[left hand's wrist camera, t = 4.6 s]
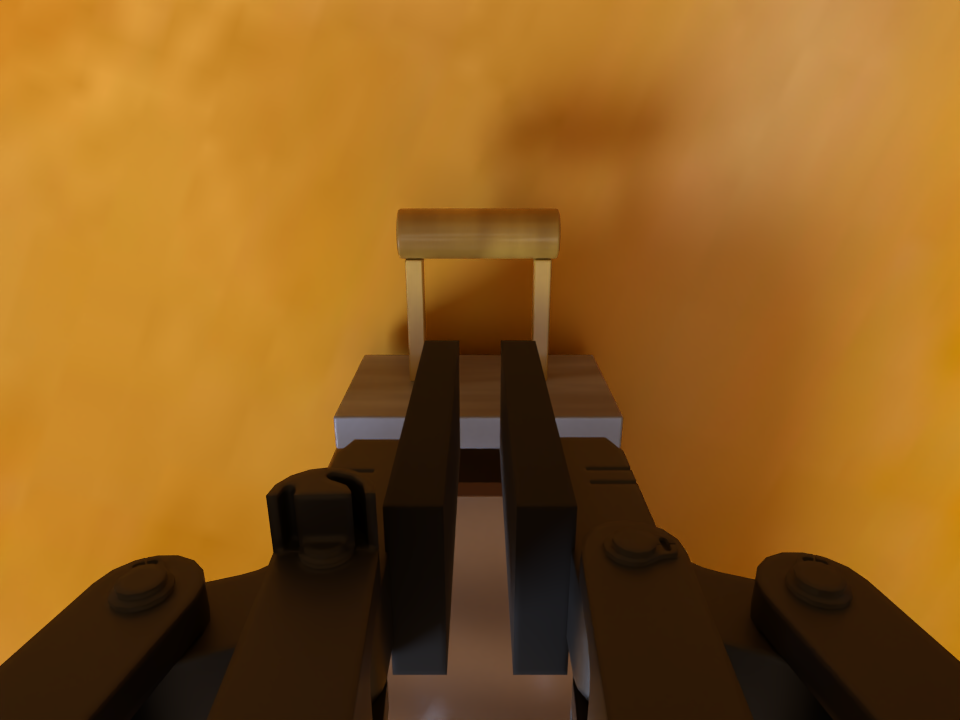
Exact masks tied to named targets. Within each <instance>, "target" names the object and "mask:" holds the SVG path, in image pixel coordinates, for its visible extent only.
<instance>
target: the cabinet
mask: <svg viewBox="0 0 960 720" xmlns="http://www.w3.org/2000/svg"><path fill="white" fill-rule="evenodd" d="M620 449H621V447H620ZM340 450H342V449H339V448H336V450H335V453H334V455H333V457H332V459H331V462H330V464H329V466H328V468H329V467H331V466H332V464H333V461H334V459H335V457H336V455H337V453H338V452H339V451H340ZM621 450H622V449H621ZM636 484H637V483H636ZM387 682H388V698H389V712H388V720H570V714H571V698H572V682H573V672H572V666H571V661H570V655H569V656H568V673H567V675H513V665H512V649H511V632H510V615H509V598H508V582H507V565H506V548H505V532H504V515H503V498H502V483H458V498H457V515H456V532H455V549H454V565H453V582H452V599H451V615H450V632H449V649H448V666H447V675H393V673H392V656H391V658H390V664H389V670H388V676H387Z"/></svg>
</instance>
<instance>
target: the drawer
mask: <svg viewBox="0 0 960 720" xmlns="http://www.w3.org/2000/svg"><path fill="white" fill-rule="evenodd" d="M560 232H561V227H560V214H559V211H558V209H399V211H398V214H397V224H396V235H397V249H398V254H399V257H400V258H402V259H406V261H405V267H406V292H407V317H408V342H409V355H365V356H364V358H363V360H362V362H361V364H360V366H359V368H358V370H357V372H356V374H355V376H354V378H353V380H352V382H351V384H350V386H349V388H348V390H347V392H346V394H345V396H344V398H343V400H342V402H341V404H340V406H339V408H338V410H337V412H336V414H335V416H334V427H335V438H336V447H337V448H339V449H343V448H344V447H346V446H347V445H348V444H349V443H351V442H352V441H353V440H354V439H400V436H401V432H402V428H403V424H404V420H405V416H406V412H407V408H408V404H409V400H410V396H411V392H412V388H413V385H414V381H415V377H416V373H417V369H418V365H419V361H420V357H421V353H422V349H423V345H424V341H426V320H425V287H424V259H533V293H532V328H531V341H536V345H537V349H538V353H539V357H540V361H541V365H542V369H543V373H544V377H545V381H546V384H547V388H548V392H549V396H550V400H551V404H552V408H553V412H554V416H555V420H556V424H557V428H558V432H559V436H560V437H606V438H607V439H608V440H610V441H611V442H612V443H614V444H615V445H616V446H617V447H619V448H620V447H621V437H622V425H623V416H622V414H621V412H620V410H619V408H618V406H617V404H616V402H615V400H614V398H613V396H612V394H611V392H610V390H609V388H608V386H607V383H606V381H605V379H604V377H603V375H602V373H601V371H600V369H599V367H598V365H597V363H596V361H595V359H594V357H593V355H548V347H549V320H550V294H551V268H552V261H551V259H555V258H557V257H558V254H559V248H560ZM459 380H460V465H459V482H458V483H502V482H501V465H500V381H501V355H459Z"/></svg>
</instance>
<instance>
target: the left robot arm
mask: <svg viewBox="0 0 960 720" xmlns="http://www.w3.org/2000/svg"><path fill="white" fill-rule="evenodd" d="M459 465H460V380H459V341H424V345H423V349H422V353H421V357H420V361H419V365H418V369H417V373H416V377H415V381H414V385H413V388H412V392H411V396H410V400H409V404H408V408H407V412H406V416H405V420H404V424H403V428H402V432H401V436H400V439H354V440H353V441H352V442H351V443H349V444H348V445H347V446H346V447H344V448H343V449H342V450H340V451H339V452H338V453H337V455H336V457H335V459H334V461H333V464H332V466H331V467H329V468H320V469H312V470H307V471H304V472H301V473H298V474H295V475H292V476H289V477H288V478H286V479H284V480H283V481H281V482H279V483H278V484H276V485H275V486H274V487H273V488H272V489H271V491H270V492H269V493H268V494H267V495H266V499H267V507H268V514H269V522H270V530H271V537H272V545H273V552H274V553H273V555H272V558H271V560H270V563H269V565H268V566H266V567H264V568H261V569H259V570H256V571H253V572H249V573H246V574H242V575H238V576H233V577H229V578H224V579H219V580H215V581H210V582H205V578H204V572H203V569H202V568H201V567H200V566H199V565H198V564H197V563H196V562H195V561H194V560H191V559H188V558H185V557H182V556H179V555H168V556H153V557H148V558H143V559H139V560H135V561H133V562H130V563H128V564H126V565H123V566H121V567H119V568H116V569H114V570H112V571H111V572H109V573H108V574H106V575H105V576H103V577H102V578H100V579H99V580H97V581H96V582H95V583H93V584H92V585H91V586H90V587H89V588H88V589H86V590H85V591H84V592H83V593H82V594H81V595H80V596H79V597H77V598H76V599H75V600H74V601H73V602H72V603H71V604H70V605H68V606H67V607H66V608H65V609H64V610H63V611H62V612H61V613H59V614H58V615H57V616H56V617H55V618H54V619H53V620H51V621H50V622H49V623H48V624H47V625H46V626H45V627H44V628H42V629H41V630H40V631H39V632H38V633H37V634H36V635H35V636H33V637H32V638H31V639H30V640H29V641H28V642H27V643H26V644H24V645H23V646H22V647H21V648H20V649H19V650H18V651H17V652H15V653H14V654H13V655H12V656H11V657H10V658H9V659H8V660H6V661H5V662H4V663H3V664H2V665H1V666H0V720H388V712H389V698H388V682H387V676H388V670H389V664H390V658H391V656H392V673H393V675H447V666H448V649H449V632H450V615H451V599H452V582H453V565H454V549H455V532H456V515H457V498H458V482H459ZM500 465H501V482H502V498H503V515H504V532H505V548H506V565H507V582H508V598H509V615H510V632H511V649H512V665H513V675H567V673H568V656H569V655H570V661H571V666H572V672H573V682H572V698H571V714H570V720H960V661H959V660H957V659H956V658H955V657H954V656H953V655H952V654H951V653H949V652H948V651H947V650H946V649H945V648H944V647H943V646H942V645H940V644H939V643H938V642H937V641H936V640H935V639H934V638H932V637H931V636H930V635H929V634H928V633H927V632H926V631H924V630H923V629H922V628H921V627H920V626H919V625H918V624H917V623H915V622H914V621H913V620H912V619H911V618H910V617H909V616H907V615H906V614H905V613H904V612H903V611H902V610H901V609H899V608H898V607H897V606H896V605H895V604H894V603H893V602H892V601H890V600H889V599H888V598H887V597H886V596H885V595H884V594H882V593H881V592H880V591H879V590H878V589H877V588H876V587H874V586H873V585H872V584H871V583H870V582H869V581H868V580H866V579H865V578H863V577H862V576H860V575H859V574H858V573H856V572H855V571H853V570H852V569H850V568H849V567H847V566H844V565H842V564H840V563H837V562H835V561H833V560H830V559H828V558H825V557H821V556H818V555H813V554H807V553H779V554H776V555H773V556H769V557H766V558H765V559H764V560H763V561H762V563H761V564H760V565H759V566H758V567H757V572H756V578H755V580H754V579H750V578H745V577H740V576H735V575H731V574H726V573H721V572H717V571H714V570H710V569H706V568H703V567H701V566H698V565H696V564H694V563H691V562H690V559H689V557H688V554H687V552H686V550H685V549H684V548H683V546H682V545H681V543H680V542H679V541H678V539H676V538H675V537H673V536H672V535H670V534H669V533H667V532H666V531H664V530H663V529H660V528H657V527H656V525H655V523H654V521H653V519H652V516H651V514H650V512H649V509H648V507H647V505H646V502H645V500H644V498H643V496H642V493H641V491H640V489H639V486H638V484H636V479H635V477H634V475H633V473H632V470H630V466H629V463H628V461H627V459H626V457H625V454H624V452H623V451H622V450H621V449H620V448H619V447H617V446H616V445H615V444H614V443H612V442H611V441H610V440H608V439H607V438H606V437H560V436H559V432H558V428H557V424H556V420H555V416H554V412H553V408H552V404H551V400H550V396H549V392H548V388H547V384H546V381H545V377H544V373H543V369H542V365H541V361H540V357H539V353H538V349H537V345H536V341H501V381H500Z"/></svg>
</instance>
